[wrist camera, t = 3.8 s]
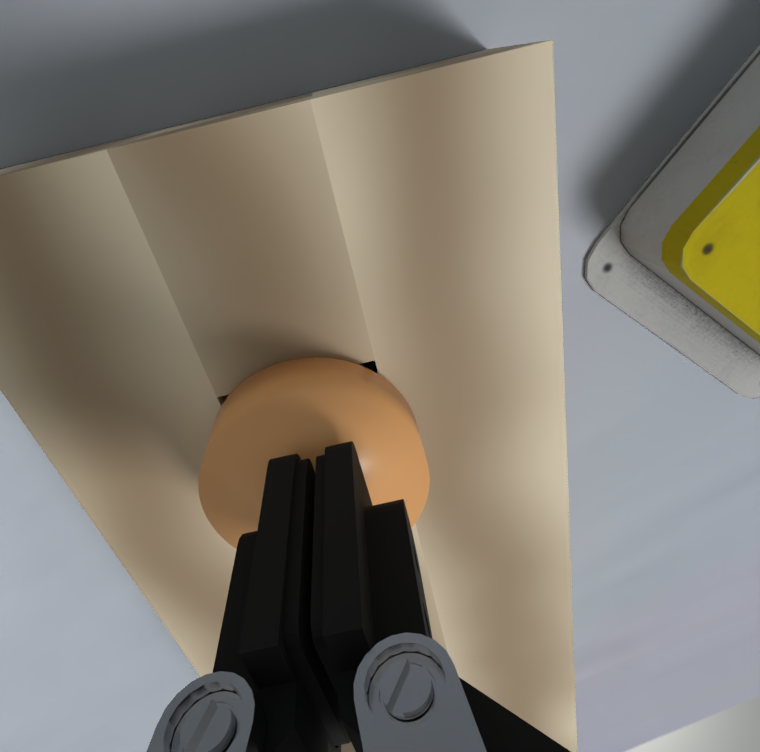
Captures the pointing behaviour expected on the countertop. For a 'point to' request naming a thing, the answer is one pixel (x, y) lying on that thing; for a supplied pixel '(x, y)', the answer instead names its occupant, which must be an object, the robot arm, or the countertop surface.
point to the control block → (317, 335)
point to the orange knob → (309, 437)
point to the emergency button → (697, 241)
